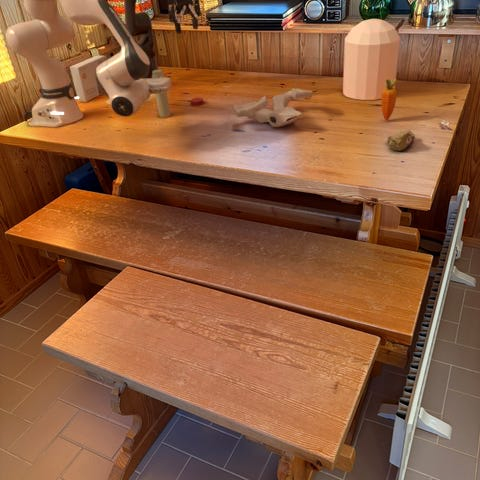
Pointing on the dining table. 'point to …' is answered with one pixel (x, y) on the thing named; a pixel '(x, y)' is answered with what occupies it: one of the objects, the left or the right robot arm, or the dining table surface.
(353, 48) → the container
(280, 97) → the animal horns
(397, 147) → the rock
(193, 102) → the lid
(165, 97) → the jar
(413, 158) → the dining table surface
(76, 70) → the skincare box
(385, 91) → the carrot
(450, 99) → the dining table surface
